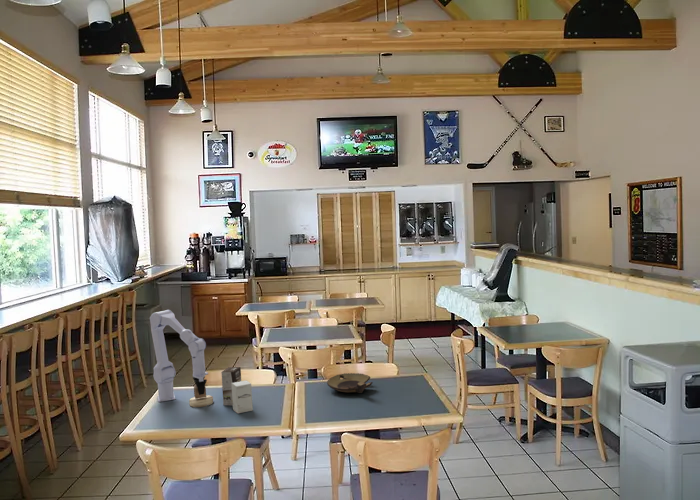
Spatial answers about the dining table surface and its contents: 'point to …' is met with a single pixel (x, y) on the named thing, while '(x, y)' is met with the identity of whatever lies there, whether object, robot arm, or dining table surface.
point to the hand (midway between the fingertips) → (200, 392)
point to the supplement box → (242, 396)
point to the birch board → (201, 401)
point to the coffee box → (229, 383)
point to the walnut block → (198, 393)
